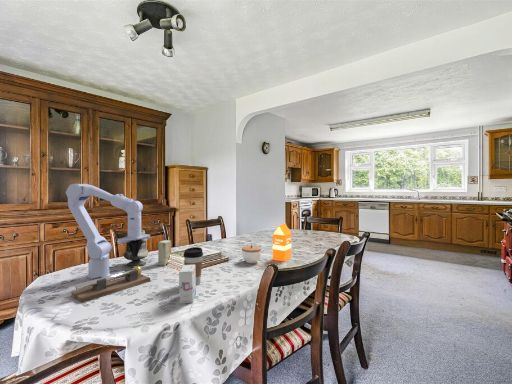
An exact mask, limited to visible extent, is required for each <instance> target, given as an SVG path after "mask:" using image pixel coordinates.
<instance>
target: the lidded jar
mask: <svg viewBox="0 0 512 384" xmlns="http://www.w3.org/2000/svg"><path fill="white" fill-rule="evenodd" d="M261 255H262V247H260V246H258V245H253V244H250V245H245V246H242V248H241V256H242V258H243V260H244V261H245V262H246V263H247V264H256V263H257V262H258V261H259V259H261Z"/></svg>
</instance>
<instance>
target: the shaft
mask: <svg viewBox="0 0 512 384" xmlns="http://www.w3.org/2000/svg"><path fill="white" fill-rule="evenodd" d="M132 269H133V270H129V271H126V272H125V271H121V272H119V273H114V274H112V275H110V276H107V277H103V278H99V279H95V280H92V279H91V280H88V281H85V282H81V283H76V284H75V285H74V287H75V288H74V289H75V291H76V290H80V289H83V288H87V287H91V286H93V285H97V280H100V279H104V278H105V279H106V282H108V281H112V280H116V279H119V278H123V277H125V276H129V272H130V271H134V270H138V276H139V275H141V274H142V266H139V265H138V266H134V267H132Z"/></svg>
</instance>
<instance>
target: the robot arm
mask: <svg viewBox="0 0 512 384" xmlns="http://www.w3.org/2000/svg"><path fill="white" fill-rule="evenodd" d="M65 195H66V197H67V207H68V209H69V211H70V212H71V214H72V216H73V218H74V219H75V221H76V223H77V225H78V227H79V228H80V230H81V231H82V232H81V233H82V234H83V236H84V237H85V239H86V240H87V242H86V245H85V247H86V249H87V255H88V257H89V260H88V262H87V263H88V264H87V265H88V267H87V268H88V270H87V271H88V274H87V275H86V276H85V277H87V278H89V279H90V280H92V278H95V277H99V276H101V277H102V278H103V277H107V276H110V275H113V273H110V253H111V251H112V248H113V247H112V244H111V242H109V241H107V239H106V238H105V237H104V236H103V235H100V232H99V231H98V229H97V227H96V225H95V223H94V221H93V220H92V218H91V216H90V215H89V213H88V211H87V209H86V207H85V204H86V201H88V199H90V197H91V196H93V197H96V198H98V199H99V198H100V199H101V200H105V201H107V202H110V204H111V205H112V206H113V207H115V208H118V209H121V210H123V211H125V212H126V214H127V232H128V237H125V236H124V237H125V238H124V237H122V238H117V244H118V245H121V244H126V242H127V244H128V246H129V248H130V250H131V253H132V256H133V257H137V256H138V252H139V249H140V246H141V245H142V243H143V241H141V240H143V239H148V240H149V239H151V234H148V233H147V234H146V233H145V235H141V230H142V211H143V209H144V205H143V203H142V202H141V201H139V200H134V198H128V197H126V196H124V194H123V193H117V194H111V193H110V192H108V191H106V190H103V189H101V188H99V187H97V186H95V185H91V184H89V183H72V184H69V185H68V187H67V188H66V191H65Z"/></svg>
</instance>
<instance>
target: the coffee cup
mask: <svg viewBox="0 0 512 384" xmlns="http://www.w3.org/2000/svg"><path fill="white" fill-rule="evenodd" d="M183 252H184V253H183V254H182V255H183V258H184V260H183V263H184V264H183V265H195V275H196V286H199V285H201V280H202V279H201V278H202V267H203V256H204V253H203V248H201V247H198V246H195V247H188V248H186V249H184V251H183Z"/></svg>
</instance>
